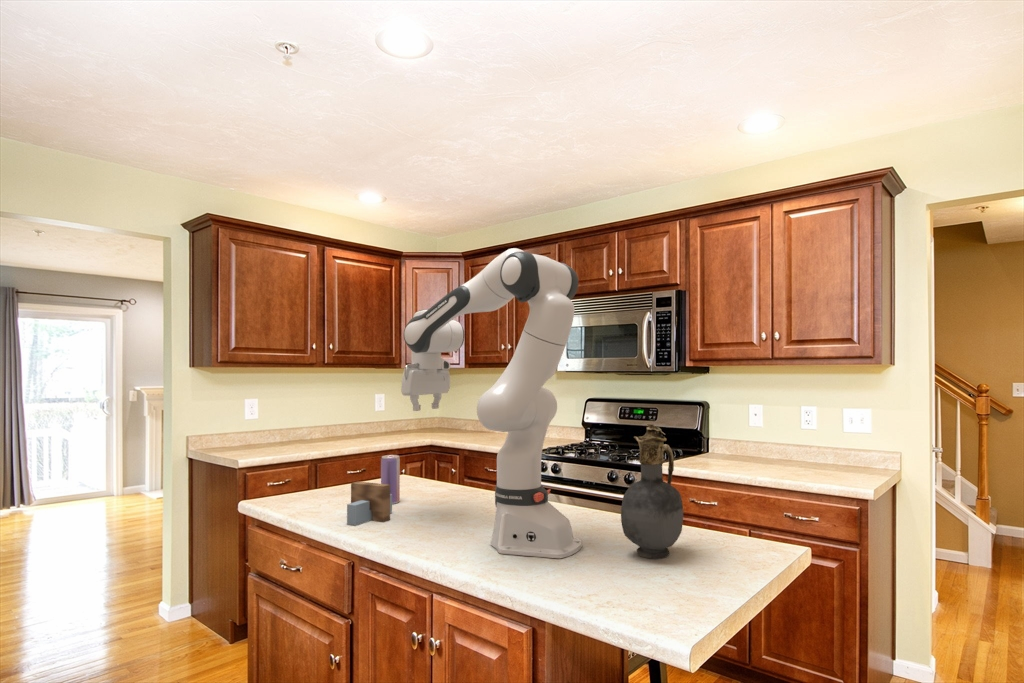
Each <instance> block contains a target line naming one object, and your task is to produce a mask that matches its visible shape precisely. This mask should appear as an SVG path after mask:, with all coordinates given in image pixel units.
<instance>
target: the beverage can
mask: <svg viewBox="0 0 1024 683" xmlns="http://www.w3.org/2000/svg"><path fill="white" fill-rule="evenodd" d="M400 462H401V459H400V455H397V454H387V455H382V456H381V458H380V484H388V485H390V494H392V505H396V504H399V502H400V499H401V498H400V497H401V496H400V492H401V490H400V486H401V481H400V480H401V478H400V476H401V472H400V471H401V470H400V469H401V468H400V467H401V466H400V464H401V463H400Z"/></svg>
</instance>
